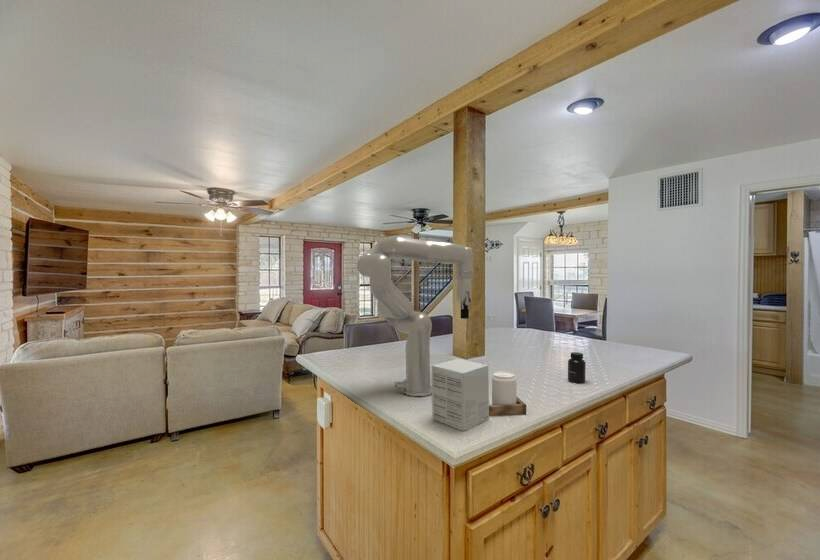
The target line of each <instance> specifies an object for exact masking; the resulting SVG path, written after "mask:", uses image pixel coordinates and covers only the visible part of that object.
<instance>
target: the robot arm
mask: <svg viewBox="0 0 820 560" xmlns="http://www.w3.org/2000/svg"><path fill="white" fill-rule="evenodd" d="M473 252H474V250H473V248H472V247H469V246H464V245H462V244H458V243H452V242H451V243H450V242H442V241H434V240H425V239H417V238H414V237H413V238H412V237H406V236H398V235H396V236H389V237H385V238H383V239H382V240H381V239H380V240H379V242H377V243H376V244H375V245H374V246H372V247H371V248H370V249H369V250H367V251H366V252H364V254H362V255H361V256H360V257H359V258H358V261H357V263H356V268H357V269H356V270H357V271H358V273H359V274H360V275H361V276H362V277H365V278H369V288H370V292H371V294H372V296H373V298H375V300H376V301H377V303H376V305H377V308H376V309H377V311H378V313H379V314H380V316H381V317H382V318H383V319H384V320H385V321H387V323H389V324H390V326H392V327H393V328H394V329H395V330H396V331H398V332H400V333H402V334H406V335H408V336H407V338H406V342H405V375H406V376H405V378H404V380H402V381H394V388H398V389H402V390H401V391H403V392H404V393H406V394H408V395H412V396H411V397H415V396H421V397H427V396H432V385H431V353H430V351H431V349H430V346H431V345H430V344H431V343H430V342H431V335H432V330H433V329H432V328H433V323H432V319H431V317H430V316H429V315H428V314H426V313H425V312H422V311H415V310H413V305H412V303H411V301H410V300H409V298H408V297H407V296H406V295H404V294H403V293H402V292H401V290H400V289H399V288H397V287H396V285H395V284H394V283H393V281H392V277H391V276H392V275H391V273H392V272H391V271H392V262H391V259H392V260H393V259H399V260H406V261H407V260H409V261H414V262H422V263H423V262H424V263H425V262H426V263H432V262H433V263H435V262H440V263H441V264H443V265H454V269H455V271H454V272H455V274H454V275H455V280H456V287H455V288H456V289H455V293H456V294H455V295H456V296H455V300H456V302H458V303H460V318H461V319H464V320H465V319H469V318H470V313H469V312H470V311H469V308H470V303H472V301H473V292H472V291H473V289H472V280H473V279H474V259H473V258H474V255H473V254H474V253H473ZM403 392H402V393H403ZM404 393H403V394H404ZM408 395H407V396H408Z"/></svg>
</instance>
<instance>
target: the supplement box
mask: <svg viewBox="0 0 820 560" xmlns="http://www.w3.org/2000/svg"><path fill="white" fill-rule="evenodd" d="M489 381H490V380H489V365H488V364H485V363H480V362H475V361H470V360H466V359H460V358H455V359H452V360H449V361H448V360H447V361H445V362H440V363H437V364H433V365H431V386H432V394H431V397H432V398H431V403H432V405H431V406H432V407H431V410H432V411H431V412H432V416H431V417H432V418H433V419H432V420H434V419H435V420H434V421H436V420H438V421H437V422H439V421H440V422H439V423H441V422H442V424H444V423H445V424H444V425H446V424H447V426H449V425H450V426H449V427H451V426H452V428H454V429H456V428H457V429H456V430H459V431H461V430H462V432H465V431H467V430H469V429H471V428H473V427H475V426H477V425H479V424H481V423H484V422H486V421H487V420H490V416H489V406H490V401H489V399H490V398H489V397H490V394H489V393H490V392H489V391H490V390H489V389H490V388H489V387H490V385H489Z"/></svg>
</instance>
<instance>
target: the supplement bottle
mask: <svg viewBox="0 0 820 560" xmlns="http://www.w3.org/2000/svg"><path fill="white" fill-rule="evenodd" d="M586 367H587V366H586V361H585V360H584V354H583V353H582V352H578V351H577V352H576V351H572V352H570V358H569V359H568V361H567V381H568V382H570V383H573V384H580V385H581V384H584V383H586V372H587V371H586Z"/></svg>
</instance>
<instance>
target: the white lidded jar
mask: <svg viewBox="0 0 820 560" xmlns="http://www.w3.org/2000/svg"><path fill="white" fill-rule="evenodd" d="M517 397H518V395H517V377H516V375H515V373H513V372H510V371H503V370H500V371H495V372H493V375H492V376H491V405H510V404H517Z"/></svg>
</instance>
